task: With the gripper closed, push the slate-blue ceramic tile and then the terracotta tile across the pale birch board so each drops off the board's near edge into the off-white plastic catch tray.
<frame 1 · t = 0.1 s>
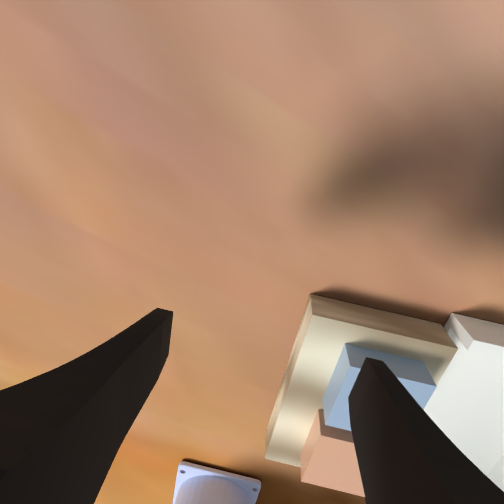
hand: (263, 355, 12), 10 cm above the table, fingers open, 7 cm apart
slate tile: (370, 381, 21), point 2 cm above the table, touching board
terracotta tile: (342, 440, 23), point 2 cm above the table, touching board
tray: (465, 412, 24), on the table
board: (343, 383, 24), on the table
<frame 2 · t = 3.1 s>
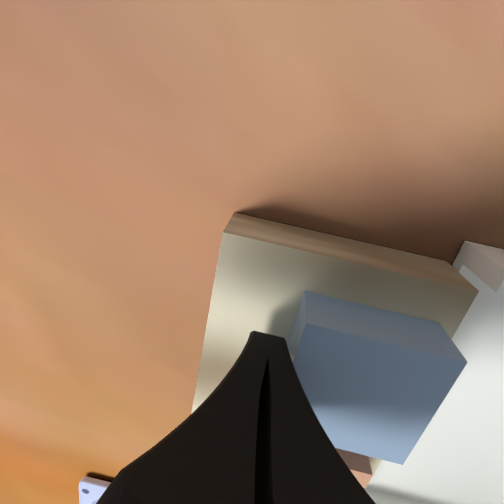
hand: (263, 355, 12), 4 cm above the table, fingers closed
slate tile: (349, 358, 12), point 3 cm above the table, touching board, gripper
terracotta tile: (292, 450, 15), point 2 cm above the table, touching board
tray: (483, 407, 16), on the table
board: (296, 362, 16), on the table
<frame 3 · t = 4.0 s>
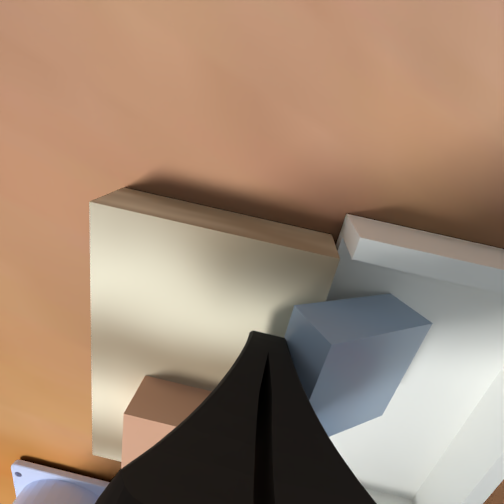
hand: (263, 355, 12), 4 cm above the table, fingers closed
slate tile: (327, 349, 13), point 2 cm above the table, tilted 34°, touching gripper
terracotta tile: (193, 426, 15), point 2 cm above the table, touching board
tray: (388, 384, 16), on the table
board: (204, 340, 16), on the table
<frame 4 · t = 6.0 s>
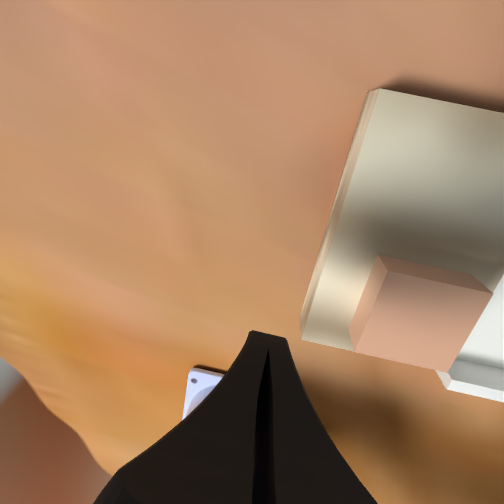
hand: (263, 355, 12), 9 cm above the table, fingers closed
terracotta tile: (406, 303, 18), point 2 cm above the table, touching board
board: (403, 236, 19), on the table
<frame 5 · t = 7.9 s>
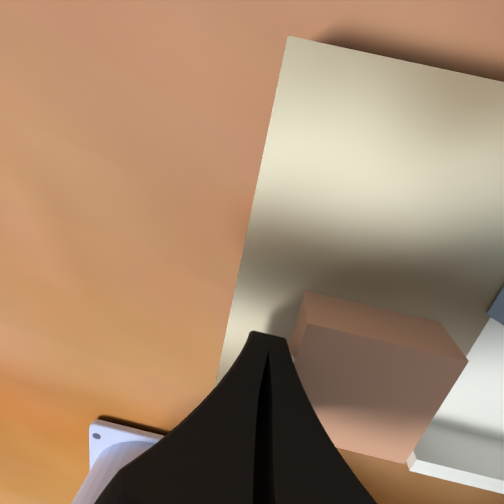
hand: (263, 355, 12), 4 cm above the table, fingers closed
terracotta tile: (350, 358, 12), point 2 cm above the table, touching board, gripper
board: (351, 262, 14), on the table
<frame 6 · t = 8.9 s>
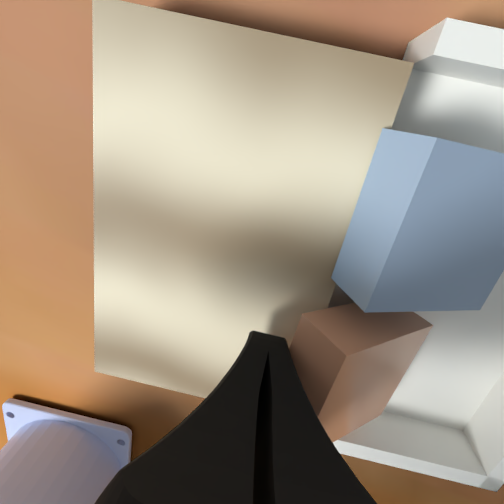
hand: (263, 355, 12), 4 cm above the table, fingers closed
slate tile: (413, 217, 11), point 2 cm above the table, tilted 24°, touching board, tray
terracotta tile: (328, 353, 13), point 2 cm above the table, tilted 39°, touching gripper
tray: (443, 283, 13), on the table
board: (226, 233, 14), on the table
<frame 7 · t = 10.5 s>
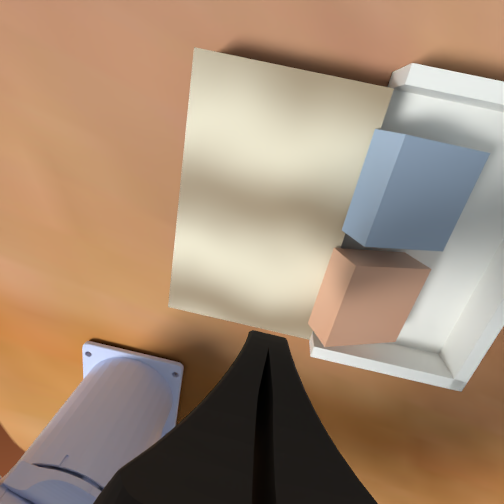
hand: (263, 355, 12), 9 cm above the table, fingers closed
slate tile: (397, 188, 16), point 2 cm above the table, tilted 24°, touching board, tray
terracotta tile: (356, 288, 19), point 2 cm above the table, tilted 25°, touching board, tray
tray: (421, 239, 19), on the table
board: (264, 205, 19), on the table
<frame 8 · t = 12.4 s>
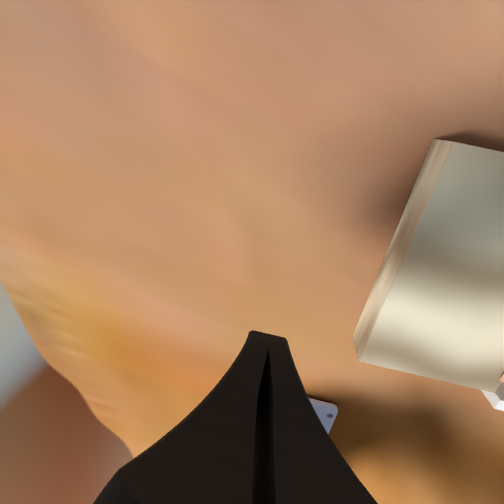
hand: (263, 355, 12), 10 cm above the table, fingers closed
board: (456, 267, 20), on the table
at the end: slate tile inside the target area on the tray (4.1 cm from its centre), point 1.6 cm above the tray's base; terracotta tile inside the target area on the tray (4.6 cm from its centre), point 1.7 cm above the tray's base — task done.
